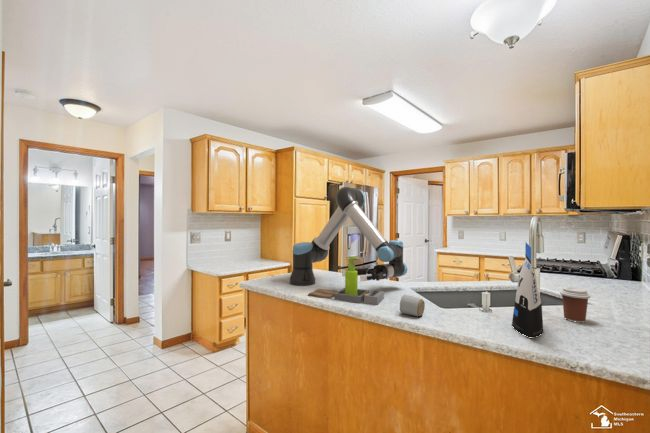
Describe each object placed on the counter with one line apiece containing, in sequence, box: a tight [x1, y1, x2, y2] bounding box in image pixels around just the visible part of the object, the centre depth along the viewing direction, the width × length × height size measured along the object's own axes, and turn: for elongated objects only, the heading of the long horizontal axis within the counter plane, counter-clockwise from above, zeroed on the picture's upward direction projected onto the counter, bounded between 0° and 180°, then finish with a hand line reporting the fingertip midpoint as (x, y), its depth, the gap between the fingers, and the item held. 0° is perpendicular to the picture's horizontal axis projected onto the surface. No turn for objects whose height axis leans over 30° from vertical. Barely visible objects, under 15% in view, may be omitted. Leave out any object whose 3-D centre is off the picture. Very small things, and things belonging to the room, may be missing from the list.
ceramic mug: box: [399, 293, 426, 317], centre depth 124 cm, size 11×8×8 cm
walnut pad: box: [307, 288, 339, 300], centre depth 154 cm, size 12×12×1 cm
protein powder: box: [511, 242, 544, 338], centre depth 110 cm, size 10×24×30 cm, turn 150°
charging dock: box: [334, 287, 385, 306], centre depth 146 cm, size 13×20×4 cm, turn 64°
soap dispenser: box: [344, 256, 361, 296], centre depth 147 cm, size 6×7×20 cm
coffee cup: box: [559, 286, 591, 323], centre depth 118 cm, size 9×9×12 cm
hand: (351, 276), depth 146 cm, fingers open, 13 cm apart
